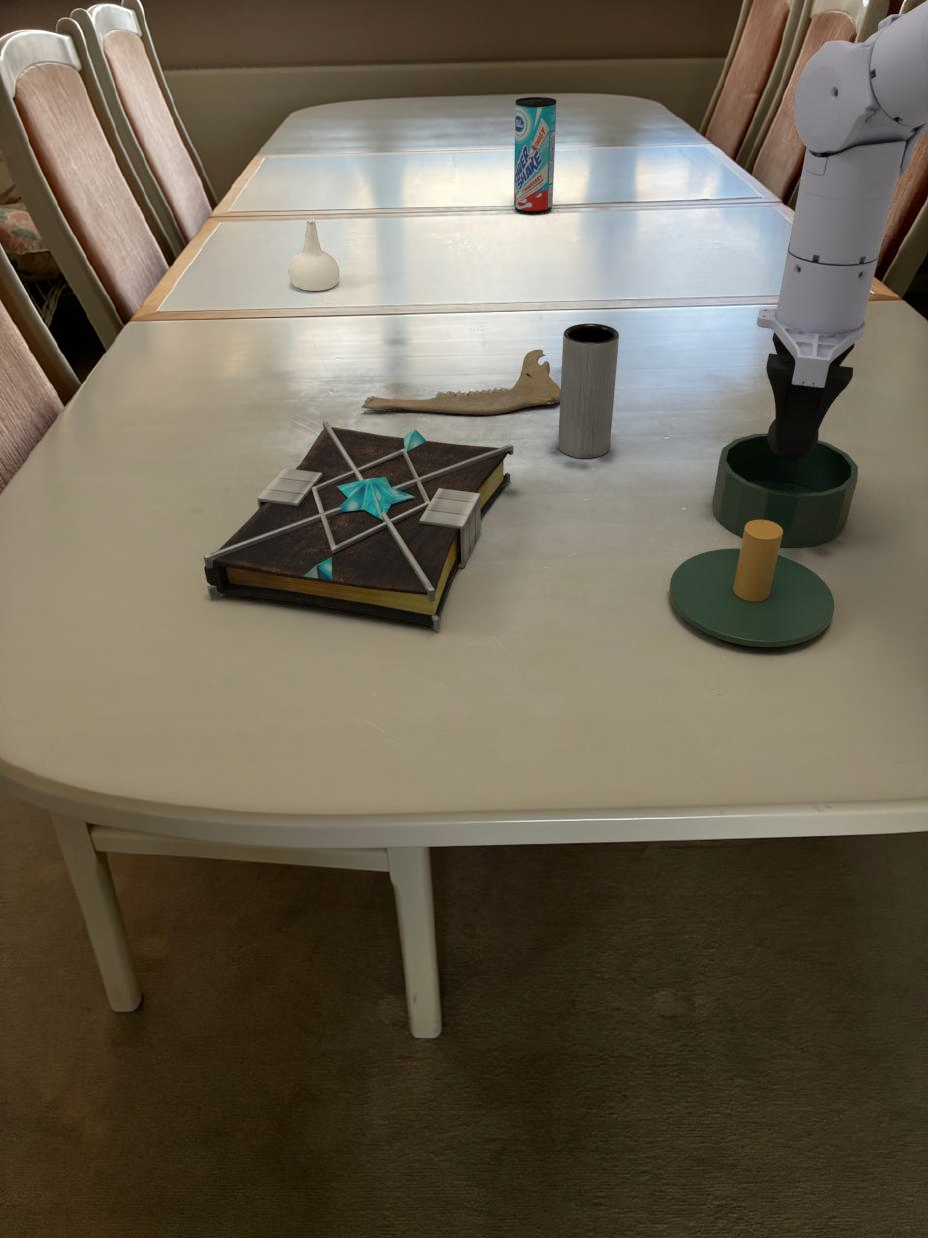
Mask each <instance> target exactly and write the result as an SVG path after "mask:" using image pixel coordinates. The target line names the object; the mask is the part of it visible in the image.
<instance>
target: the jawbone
mask: <svg viewBox="0 0 928 1238" xmlns="http://www.w3.org/2000/svg"><path fill="white" fill-rule="evenodd" d="M542 357H546V354H544V350H543V349H533V350H531V351H528V352H527V353H526V354H525V356H524V358H523V360H522V365H521V371H520V375H519V377H518V380H517V382H516V383H515V384H514V385H513V386H512V388H507V387H505V388H504V387H503V386H500V388H499V389H498V388H497V387H494V388H493V389H491V388H488V389H487V390H485V389H481V391H479V390H478V389H477V390H475V391H471V390H469V391H468V392H466V391H464V392H461V391H460V390H458V391H456V392H454V391H451V390H448V391H446V392H443V391H439V392H437V393H436V396H435V397H432V398H427V399H400V398H383V397H378V396H374V395H372V396H368V397H366V399H365V400H364V403H363V404H362V405H361V408H362V409H367V410H382V411H385V412H394V411H398V410H399V411H400V410H408V411H412V412H422V413H423V412H424V413H440V414H441V413H442V414H455V415H456V414H457V415H477V416H492V415H493V416H494V415H499V414H505V413H511V412H515V411H517V410H521V409H524V408H529V407H535V406H543V405H545V406H546V405H554V404H556V403H558V402H560V394H561V387H560V386H559V385H558V383H556V382H555V380H553V379H552V378H551V376H550V371H551V366H550V362H549V361H548V360H545V361H543V362H542V364H539V360H540V359H541V358H542Z"/></svg>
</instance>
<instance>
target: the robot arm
mask: <svg viewBox="0 0 928 1238" xmlns="http://www.w3.org/2000/svg"><path fill="white" fill-rule="evenodd" d="M797 81H798V82H797V85H796V88H795V93H794V98H793V99H794V100H793V117H794V124H795V129H796V133H797V135H798V137H799V139H800V141H801V143H802V144H803V145H804V147H806V149H805V154H804V158H803V159H804V160H803V165H802V168H801V169H802V170H801V176H800V181H799V185H798V186H799V188H798V193H797V198H796V203H795V209H794V215H793V220H792V225H791V230H790V236H789V241H788V247H787V251H786V257H785V263H784V269H783V273H782V279H781V284H780V290H779V295H778V296H779V297H778V301H777V306H776V308H761V309H760V310H759V311H758V314H757V319H756V325H757V327H759V328H765V329H770V330H771V331H773V335H772V343H773V346H774V349H775V353H768V356H767V361H766V367H765V369H766V375H767V378H768V382H769V384H770V386H771V390H772V394H773V400H774V411H775V417H774V418H775V419H774V420H775V443H776V450H777V452H778V453H784V454H792V455H799V456H805V455H806V454H807V452H808V451H809V449H810V447H811V445H812V443H813V441H814V439H815V437H816V434H817V432H818V431H820V430H819V429H820V428H821V425H822V423H823V421H824V419H825V416H826V415H827V413H828V411H829V409H830V407H832V405H833V403H834V402H835V401H836V399H837V398H838V397H839V396H840V395H841V394H842V392H843V391H844V390H845V389H847V387H848V386H849V384H850V383H851V382H852V379H853V377H854V367H853V366H845V365H844V366H843V365H842V363H843V362H844V360H845V359H846V358H847V357H848V356H849V355H850V353H852V351H853V349H854V348H855V345H856V343H857V342H858V341H859V340H860V339H861V338H863V335H864V332H865V328H866V320H865V315H866V311H867V308H868V307H867V306H868V302H869V299H870V294H871V291H872V290H871V289H872V287H873V286H872V285H873V281H874V277H875V274H876V270H877V265H878V261H879V258H880V257H879V255H880V253H881V252H880V251H881V248H882V244H883V240H884V236H885V231H886V227H887V223H888V218H889V214H890V210H891V206H892V202H893V199H894V193H895V192H896V191H895V190H896V187H897V182H898V178H900V177H901V176H902V175H903V174H904V172H905V170H907V169H909V166H910V162H911V158H912V154H913V151H914V148H915V147H916V145H917V143H918V141H919V140H920V139H921V138H922V137H923V136H924V134H926V132H927V130H928V0H925V1H924V2H922V3H921V4H919V5H918V6H916V7H914V8H913V9H911V10H909V11H908V12H907V13H897V14H895V13H894V14H890V15H888V16H886V17H885V18H884V19H882V20H880V22H878V24H877V31H876V32H874V33H872V35H870V36H869V37H868V38H867V39H866V40H865V41H864V42H851V41H848V40H843V39H840V40H839V39H838V40H828V41H826V42H824V44H822V46H821V47H820V49H819V50H817V51H816V52H815V53H814V54H813V55H812V56H811V57H810V58H809V60H808V61H807V62H806V63H805V65H804V67H803V69H802V71H801V73H800V75H799V78H798V80H797Z"/></svg>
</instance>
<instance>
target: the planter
mask: <svg viewBox="0 0 928 1238" xmlns="http://www.w3.org/2000/svg"><path fill="white" fill-rule="evenodd" d="M562 335H563V336H562V352H561V354H562V355H561V358H562V359H561V377H560V389H561V394H560V400H559V416H558V417H559V418H558V437H557V438H558V440H557V441H558V442H557V443H558V444H557V445H558V448H559V450H560V451H561V452H562V453H563V454H565V455H566V456H570V457H573V458H578V459H592V458H598V457H601V456H603V455H605V454H607V452H609V450H610V447H611V438H612V437H611V436H612V426H613V414H614V413H613V412H614V403H615V402H614V401H615V392H616V391H615V390H616V379H617V366H618V353H619V343H620V333H619V331H618V330H617V329H615V328H614V327H612V326H610V325H606V324H601V323H578V324H574V325H571V326H569V327H567V328H565V329H564V331H563V334H562Z"/></svg>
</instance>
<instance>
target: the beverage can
mask: <svg viewBox="0 0 928 1238" xmlns="http://www.w3.org/2000/svg"><path fill="white" fill-rule="evenodd" d="M514 102H515V103H514V104H515V108H514V109H515V110H514V111H515V112H514V164H513V165H514V167H513V168H514V171H513V177H514V178H513V186H514V187H513V208H514V210H515V211H516V212H517V213H520V214H522V215H530V216H531V215H533V216H535V215H544V214H547V213H549V212H551V211H552V208H553V204H554V203H553V200H554V177H555V176H554V175H555V157H556V156H555V153H556V129H557V127H556V125H557V122H556V121H557V102H558V101H557V99H555V98H553V97H546V96H543V97H542V96H528V97H522V98H517V99H515V101H514Z"/></svg>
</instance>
